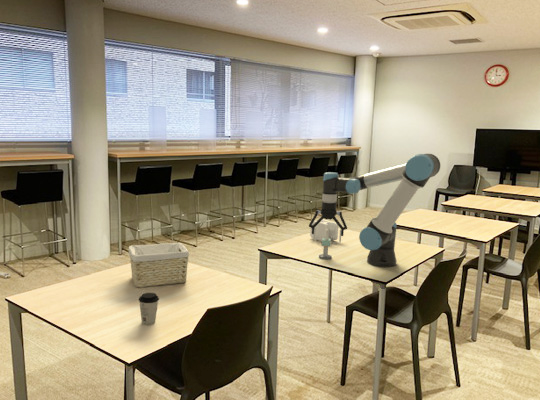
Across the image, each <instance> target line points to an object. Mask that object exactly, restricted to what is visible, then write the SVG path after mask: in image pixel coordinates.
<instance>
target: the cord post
mask: <svg viewBox="0 0 540 400" xmlns="http://www.w3.org/2000/svg"><path fill="white" fill-rule="evenodd" d="M328 233H329V230H328V229H326V233H325V240H328ZM329 247H330V246H323V251H322V254H321V253H320V254H318V258H319V259H320V260H325V261H326V260H327V261H328V260H329V261H330V260H332V255H330V254H329Z"/></svg>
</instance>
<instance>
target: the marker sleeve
mask: <svg viewBox="0 0 540 400" xmlns="http://www.w3.org/2000/svg"><path fill="white" fill-rule="evenodd" d="M331 241H332V240H331V239H328V240H325V238H322V242H321V246H323V247H324V246H329V247H331Z"/></svg>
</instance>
